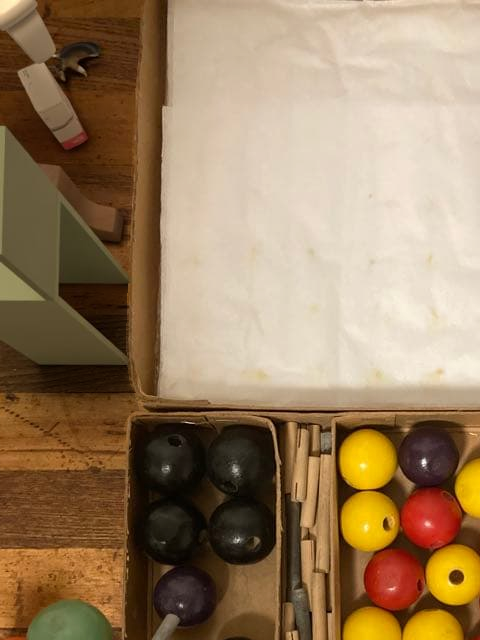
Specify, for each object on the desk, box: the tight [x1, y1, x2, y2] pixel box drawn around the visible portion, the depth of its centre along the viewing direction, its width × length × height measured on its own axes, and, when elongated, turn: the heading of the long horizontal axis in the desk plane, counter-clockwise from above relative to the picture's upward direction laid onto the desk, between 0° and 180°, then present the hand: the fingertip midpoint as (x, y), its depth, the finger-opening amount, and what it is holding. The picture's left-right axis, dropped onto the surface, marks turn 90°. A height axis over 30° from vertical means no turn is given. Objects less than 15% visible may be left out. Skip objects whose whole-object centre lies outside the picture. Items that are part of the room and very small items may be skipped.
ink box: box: [17, 62, 89, 151], centre depth 146 cm, size 9×5×12 cm, turn 27°
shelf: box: [0, 125, 131, 366], centre depth 126 cm, size 16×16×49 cm
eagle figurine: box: [47, 40, 101, 82], centre depth 150 cm, size 8×7×9 cm
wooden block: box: [36, 162, 125, 243], centre depth 142 cm, size 9×4×18 cm, turn 83°
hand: (22, 32), depth 130 cm, fingers open, 8 cm apart
